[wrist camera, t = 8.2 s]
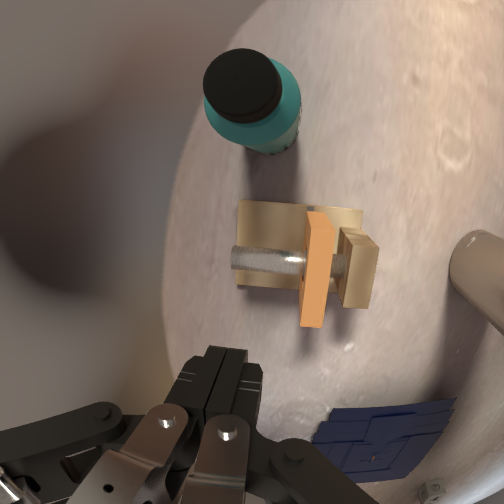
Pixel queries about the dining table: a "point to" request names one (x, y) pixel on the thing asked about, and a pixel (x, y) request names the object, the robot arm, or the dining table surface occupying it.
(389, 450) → the dark blue flat slab
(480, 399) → the dining table surface
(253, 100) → the beverage bottle
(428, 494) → the dice cube
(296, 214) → the pipe stand
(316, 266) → the collar
